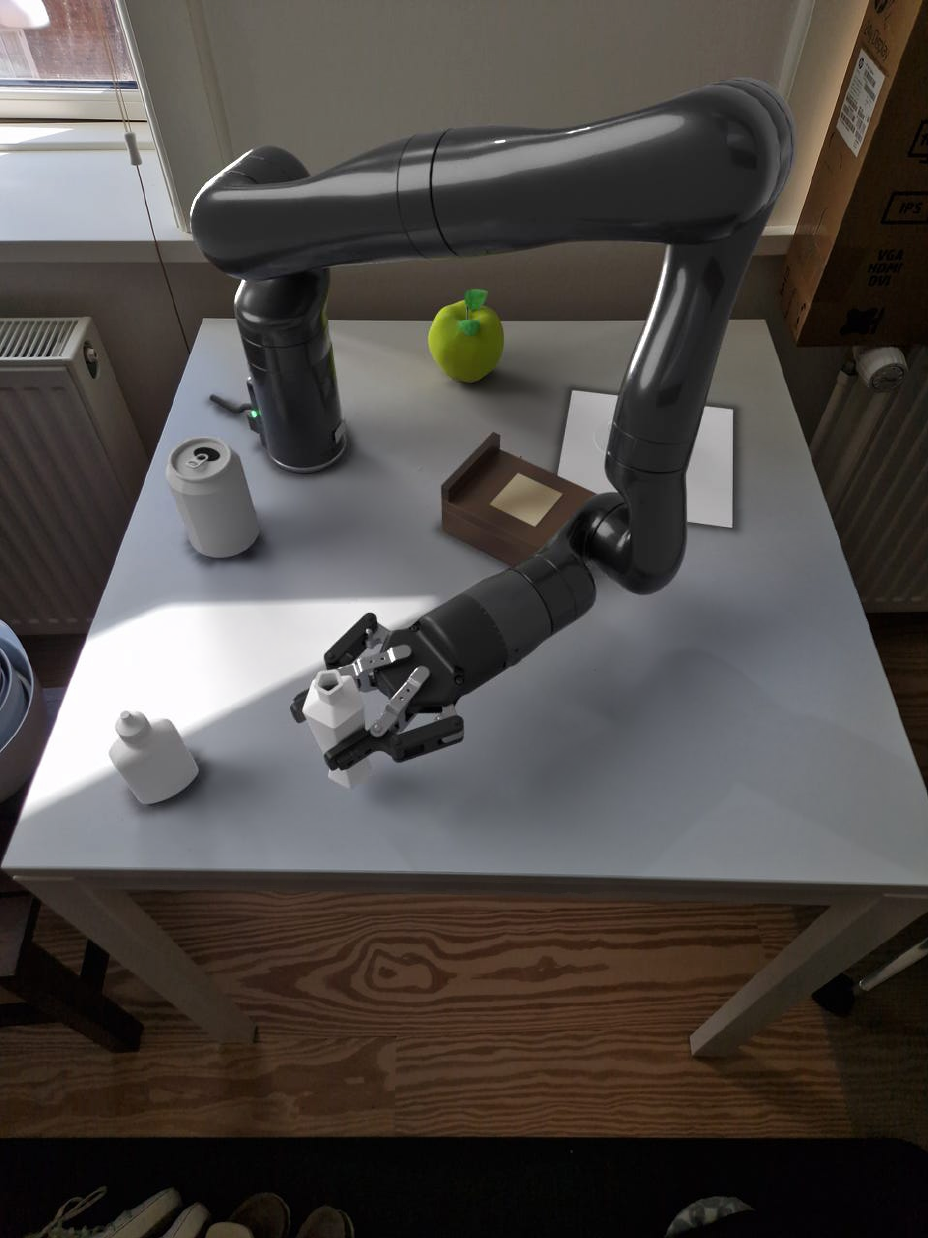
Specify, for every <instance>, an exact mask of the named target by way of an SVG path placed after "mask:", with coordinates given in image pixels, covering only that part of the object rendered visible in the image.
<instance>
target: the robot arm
mask: <svg viewBox="0 0 928 1238" xmlns="http://www.w3.org/2000/svg"><path fill="white" fill-rule="evenodd" d="M792 112H793V111H792V109H791V107H790V106H789V104H788V103H787V101H786V99H785V98H784V96H783V95H782V94H780V92H779V91H778V90H776V88H775V87H773V86H772V85H770V84H768V83H767V82H765V81H763V80H759V79H755V78H753V77H745V76H744V77H741V76H740V77H731V78H725V79H721V80H717V81H714V82H710V83H708V84H705V85H702V86H699V87H697V88H693V89H690V90H687V91H684V92H682V93H679V94H678V95H676V96H673V97H671V98H668V99H665V100H663V101H660V102H657V103H653V104H651V105H647V106H644V107H641V108H637V109H634V110H631V111H628V112H623V113H621V114H617V115H613V116H609V117H605V118H601V119H597V120H593V121H590V122H585V123H580V124H575V125H570V126H561V127H560V126H559V127H542V126H541V127H539V126H527V125H520V124H505V123H504V124H502V123H501V124H498V123H491V124H490V123H489V124H488V123H487V124H486V123H485V124H470V125H459V126H452V127H447V128H441V129H434V130H428V131H423V132H418V133H413V134H409V135H405V136H402V137H399V138H396V139H395V138H394V139H392V140H390V141H386V142H384V143H381V144H379V145H377V146H375V147H372V148H370V149H367V150H365V151H364V152H361V153H359V154H357V155H354V156H352V157H350V158H348V159H346V160H343V161H342V162H340V163H338V164H335V165H333V166H331V167H329V168H326V169H325V170H322V171H321V172H318V173H316V174H312V175H311V173H310V171H309V170H308V168H307V167H306V165H304V163H303V162H302V161H301V160H300V159H299V158H298V157H297V156H296V155H295V154H293V153H292V152H291V151H288V150H287V149H285V148H283V147H281V146H278V145H273V144H265V145H259V146H256V147H254V148H251V149H250V150H248V151H246V152H245V153H244V154H242V155H241V156H240V157H238V158H237V159H236V160H234V161H233V162H232V163H230V164H229V165H228V166H226V167H225V168H223V170H221V171H220V172H219V173H217V174H216V175H215V176H213V177H212V178H211V179H210V180H209V181H207V182H205V184H204V186H203V187H202V188H201V190H200V191H199V192H198V193H197V195H196V197H195V198H194V200H193V203H192V206H191V209H190V215H189V221H190V223H189V227H190V232H191V236H192V240H193V242H194V244H195V246H196V247H197V249H198V251H199V252H200V254H201V255H202V256H203V257H204V258H205V259H206V261H207V262H209V264H211V265H212V266H213V267H215V268H216V269H217V270H219V271H220V272H222V273H224V274H225V275H227V276H230V277H231V278H234V279H237V280H241V282H240V285H239V286H238V289H237V291H236V292H235V293H236V294H235V296H234V301H233V312H234V317H235V322H236V326H237V328H238V333H239V337H240V341H241V345H242V350H243V354H244V356H245V361H246V365H247V369H248V373H249V377H248V378H247V380H246V387H247V391H248V396H249V400H250V403H248V402H247V403H246V402H245V403H242V404H240V405H238V406H237V405H234V404H232V403H230V402H228V401H226V400H224V399H223V398H221V397H220V396H218V395H216V394H213V393H211V394H210V396H209V401H211V402H213V403H215V404H216V405H218V406H220V407H221V408H223V409H225V410H227V411H229V412H232V413H235V414H242V413H244V412H245V411H250V412H248V413H247V414H246V418H247V422H248V425H249V430H250V431H251V432H254V433H256V434H258V435H259V438H260V442H261V446H262V447H264V448H265V449H266V450H267V453H268V456H269V458H270V460H271V461H272V462H273V463H274V464H275V465H276V466H277V467H279V468H280V469H282V470H285V471H288V472H290V473H295V474H296V473H297V474H309V473H316V472H319V471H323V470H325V469H328V468H330V467H332V466H333V465H334V464H336V463H337V462H338V461H339V460H341V458H342V457H343V456H344V454H345V453H346V450H347V447H348V439H347V434H346V429H347V423H346V422H347V421H346V418H345V417H343V411H342V403H341V395H340V391H339V383H338V377H337V369H336V362H335V357H334V349H333V344H332V337H331V329H330V323H329V317H328V316H329V315H328V309H327V305H328V300H329V296H330V293H331V286H332V285H331V284H332V283H331V282H332V281H331V278H332V277H331V268H333V267H334V268H335V267H345V266H362V265H363V266H364V265H365V266H366V265H378V264H380V265H381V264H389V263H401V262H403V263H404V262H417V261H418V262H419V261H420V262H421V261H443V260H458V259H470V258H479V257H486V256H493V255H500V254H508V253H516V252H522V251H529V250H533V249H534V250H535V249H538V248H539V249H540V248H543V247H549V246H554V245H560V244H566V243H579V242H600V243H601V242H602V243H603V242H604V243H629V244H630V243H633V244H651V245H652V244H653V245H665V250H664V256H663V259H662V260H663V261H662V264H661V269H660V273H659V276H658V277H659V278H658V281H657V283H656V288H655V292H654V295H653V298H652V300H651V304H650V306H649V310H648V312H647V315H646V318H645V321H644V324H643V326H642V328H641V331H640V333H639V336H638V338H637V341H636V342H635V346H634V348H633V350H632V353H631V356H630V358H629V361H628V364H627V365H626V369H625V372H624V374H623V378H622V381H621V384H620V387H619V390H618V395H617V396H618V398H617V402H616V406H615V411H614V415H613V420H612V425H611V430H610V435H609V440H608V445H607V450H606V455H605V463H604V469H605V474H606V476H607V479H608V480H609V482H610V483H611V484H612V486H613V487H614V488H615V489H616V490H617V492H605V493H601V494H598V495H595V496H593V497H591V498H589V499H588V500H586V501H585V502H584V503H583V504H582V505H581V506H580V507H579V508H578V509H577V510H576V511H575V512H574V513H573V515H572V516H571V517H570V518H569V519H568V520H567V521H566V522H565V523H564V525H563V526H562V527H561V528H560V529H559V530H558V531H557V532H556V533H555V534H554V535H553V536H552V537H551V538H550V539H549V540H548V541H547V542H546V543H545V545H544V546H543V547H541V548H540V549H539V550H538V551H537V552H535V553H533V554H531V555H530V556H528V557H526V558H525V559H523V560H521V561H520V562H518V563H516V564H515V565H513V566H509V567H508V568H506V569H505V570H503V571H500V572H499V573H497V574H494V575H491V576H488V577H486V578H484V579H482V580H481V581H479V582H477V583H476V584H473V585H472V586H470V587H469V588H467V589H465V590H464V591H461V592H460V593H458V594H457V595H455V596H454V597H452V598H450V599H449V600H447V601H445V602H444V603H442V604H440V605H438V606H437V607H435V608H433V609H432V610H430V611H429V612H426V613H425V614H423V615H422V616H420V617H418V619H417V620H415V622H414V623H412V624H411V625H410V626H408V627H404V628H400V629H393V630H392V631H391V630H390V629H389V628H387V627H385V626H384V625H382V624H381V623H379V622H378V617H377V615H376V613H374V612H366V613H364V614H363V615H362V616H361V617H359V619H358V620H357V621H356V622H355V623H354V624H353V625H352V626H351V627H350V628H349V629H348V630H347V631H346V632H345V633H343V635H342V636H341V637H340V638H339V639H338V640H336V641H335V643H333V644H332V646H331V647H329V649H327V651H325V652H324V653H323V661H324V664H325V669H326V670H338V671H339V673H340V675H341V676H352V678H353V680H354V682H355V684H356V687H357V689H358V691H359V692H362V693H364V694H365V693H366V694H367V693H370V692H373V691H377V690H378V691H379V692H380V693H381V694H382V695H384V696H385V697H387V698H388V700H389V701H388V703H387V704H386V706H385V709H384V711H382V712H381V714H379V715H380V716H378V717H377V718H376V720H375V721H374V722H373V723H372V725H371V726H370V728H369V729H366V727H365V728H362V729H361V730H359V731H358V732H356V733H354V734H353V735H351V736H350V737H348V738H347V739H345V740H343V741H342V742H340V743H339V744H337V745H335V746H334V747H332V748H331V749H329V750H328V751H326V752H325V754H323V758H324V762H325V765H326V766H327V767H328V769H330V770H331V771H334V770H336V769H338V768H339V769H340V770H341V771H342V770H347V769H349V768H350V767H352V766H353V765H355V764H357V763H358V762H360V761H361V760H363V759H364V758H366V757H369V756H371V755H372V754H374V753H376V752H383V753H385V754H386V755H388V756H389V757H391V759H392V761H393V762H394V763H397V764H402V763H404V762H408V761H411V760H414V759H417V758H419V757H422V756H425V755H428V754H430V753H433V752H436V751H439V750H443V749H446V748H448V747H451V746H454V745H457V744H460V743H461V742H462V741H463V740H464V738H465V720H464V718H463V717H462V716H461V715H460V714H459V715H458V712H457V710H456V706H457V703H458V702H459V701H460V699H461V698H462V697H464V696H466V695H467V696H468V695H469V694H471V693H472V692H474V691H476V690H477V689H479V688H480V687H481V686H483V685H484V684H486V683H488V682H489V681H491V680H492V679H494V678H495V677H497V676H499V675H500V674H501V673H503V672H505V671H506V670H508V669H509V668H511V667H514V666H516V665H517V664H519V663H521V661H522V660H523V659H524V658H526V657H528V656H529V655H530V654H532V653H533V652H534V651H535V650H536V649H538V647H539V646H542V644H543V643H545V642H546V641H547V640H549V639H550V638H552V637H553V636H554V635H556V634H557V633H559V632H561V631H562V630H564V629H565V628H567V627H569V626H570V625H571V624H573V623H575V622H577V621H578V620H580V619H581V618H583V616H585V615H586V614H587V613H589V612H590V611H591V609H592V608H593V607H594V606H595V603H596V601H597V585H596V582H595V579H594V577H593V574H592V572H591V570H590V569H589V568H588V566H589V565H592V566H593V567H595V568H596V569H597V570H598V571H600V572H602V573H603V574H604V575H605V576H607V577H608V578H610V580H612V581H613V582H615V583H616V584H617V585H618V586H620V587H621V588H622V589H624V590H625V591H627V592H629V593H631V594H634V595H637V596H649V595H654V594H655V593H658V592H660V591H662V590H663V589H664V588H666V587H667V586H668V585H669V584H670V583H671V582H672V581H673V580H674V578H675V577H676V576H677V574H678V573H679V571H680V570H681V566H682V565H683V562H684V559H685V555H686V550H687V544H688V522H687V485H686V474H687V470H688V466H689V463H690V459H691V456H692V452H693V449H694V445H695V441H696V438H697V434H698V430H699V427H700V423H701V419H702V415H703V412H704V408H705V406H706V405H707V404H706V403H707V400H708V396H709V392H710V389H711V384H712V380H713V377H714V374H715V369H716V366H717V363H718V359H719V355H720V353H721V348H722V345H723V341H724V338H725V334H726V331H727V327H728V324H729V321H730V319H731V315H732V312H733V310H734V306H735V303H736V300H737V297H738V296H739V293H740V292H739V291H740V290H741V287H742V284H743V281H744V278H745V276H746V273H747V270H748V268H749V267H750V263H751V261H752V258H753V256H754V253H755V251H756V248H757V246H758V244H759V243H760V239H761V237H762V235H763V233H764V231H765V228H766V226H767V224H768V222H769V220H770V218H771V216H772V213H773V211H774V209H775V208H776V205H777V203H778V200H779V199H780V196H781V194H782V192H783V190H784V188H785V187H786V186H787V184H788V182H789V180H790V177H791V174H792V172H793V169H794V166H795V163H796V157H797V152H798V133H797V125H796V120H795V117H794V115H793V113H792ZM378 645H381V648H380V650H379V652H377V653H374V654H370V655H367V656H364V657H361V658H359V657H360V656H361V655H362V654H363V653H364V652H365V651H366V650H367V649H370V650H373V649H374V648H375V647H377V646H378ZM371 673H372V674H371ZM310 687H311V686H309V687H308V688H306V689H304V690H303V691H301V692H299V693H298V694H296V695H295V696H294V698H293V700H292V701H293V703H292V704H291V705H290V706H289V712H290V714H291V717H292V718H293V719H294V721H295V722H296V724H302V723H304V722H306V721H307V719H306V717H305V715H304V713H303V711H302V710H303V707H304V704H305V701H306V698H307V695H308V692H309V690H310ZM418 714H421V715H423V714H425V715H427V714H438V715H436V716H435V717H434V718H433V721H432V722H430V723H427V724H424V725H421V726H418V727H416V728H412V729H410V730H406V731H405V729H406V728H407V727H408V726H409V725H410V724H411V723H412V721H413V720H414V719H415V718H416V717H417V715H418Z"/></svg>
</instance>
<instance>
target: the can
mask: <svg viewBox="0 0 928 1238" xmlns="http://www.w3.org/2000/svg"><path fill="white" fill-rule="evenodd" d="M164 475H165V478H166V483H167V485H168V487H169V490H170V493H171V494H172V497H173V500H174V503H175V506H176V507H177V510H178V513H179V515H180V518H181V520H182V523H183V526H184V528H185V531H186V533H187V536H188V538H189V541H190V544H191V546H192V547H193V548H194V549H195V550H196V551H197V552H198V553H200V554H201V555H203V556H205V557H210V558H214V559H215V558H217V559H219V558H229V557H230V558H231V557H233V556H236V555H239V554H241V553H243V552H245V551H246V550H248V549H249V548H250V547H251V546H252V545H253V544H254V543H255V542H256V540H257V538H258V537H259V535H260V526H261V525H260V524H259V523H260V522H259V519H258V516H257V512H256V509H255V505H254V502H253V498H252V495H251V491H250V488H249V484H248V481H247V478H246V473H245V471H244V467H243V463H242V460H241V457H240V454H238V453H237V451H236V450H235V449H234V448H232V447H231V446H230V445H229V444H228V442H226V441H225V440H223V439H221V438H219V437H215V436H210V435H205V436H203V435H202V436H195V437H191V438H189V439H185V440H184V441H182V442H180V443H179V444H178V445H176V446H175V447H174V448H173V449H172V450H171V452H170V453H169V455H168V459H167V465H166V469H165V473H164Z"/></svg>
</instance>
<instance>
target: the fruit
mask: <svg viewBox="0 0 928 1238" xmlns="http://www.w3.org/2000/svg"><path fill="white" fill-rule="evenodd" d="M488 295H489V292H488V291H487V290H484V289H481V288H471V289H468V290H467V291H466V292H465V294H464V299H463V300H460V301H457V302H455V303H453V304H449V305H448V304H447V305H446V306H444V307H442V308H441V309H440V310H439V311H438V313H437V314H436V315H435V316H434V319H433V322H432V324H431V326H430V328H429V331H428V337H427V338H428V339H427V341H428V348H429V351H430V354H431V356H432V358H433V360H434V362H436V364H437V366H438V367H439V368H440V369H441V370H442V372H443V373H444V374H445V375H446V376H447V377H449V378H450V379H452V380H453V381H456V382H457V381H458V382H464V383H470V384H471V383H475V382H479V381H480V380H481V379H483V378H484V377H486V376H487V375H489V373H491V372H492V371H493V370H495V368H496V367H497V366H498V364H499V362H500V360H501V358H502V354H503V351H504V345H505V331H504V327H503V323H502V321H501V319H500V318H499V316H498V314H497V313H496V312H495V311H494V310H493V309H492V308H491V307H488V306H485V305H484V303H486V300H487V297H488Z"/></svg>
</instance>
